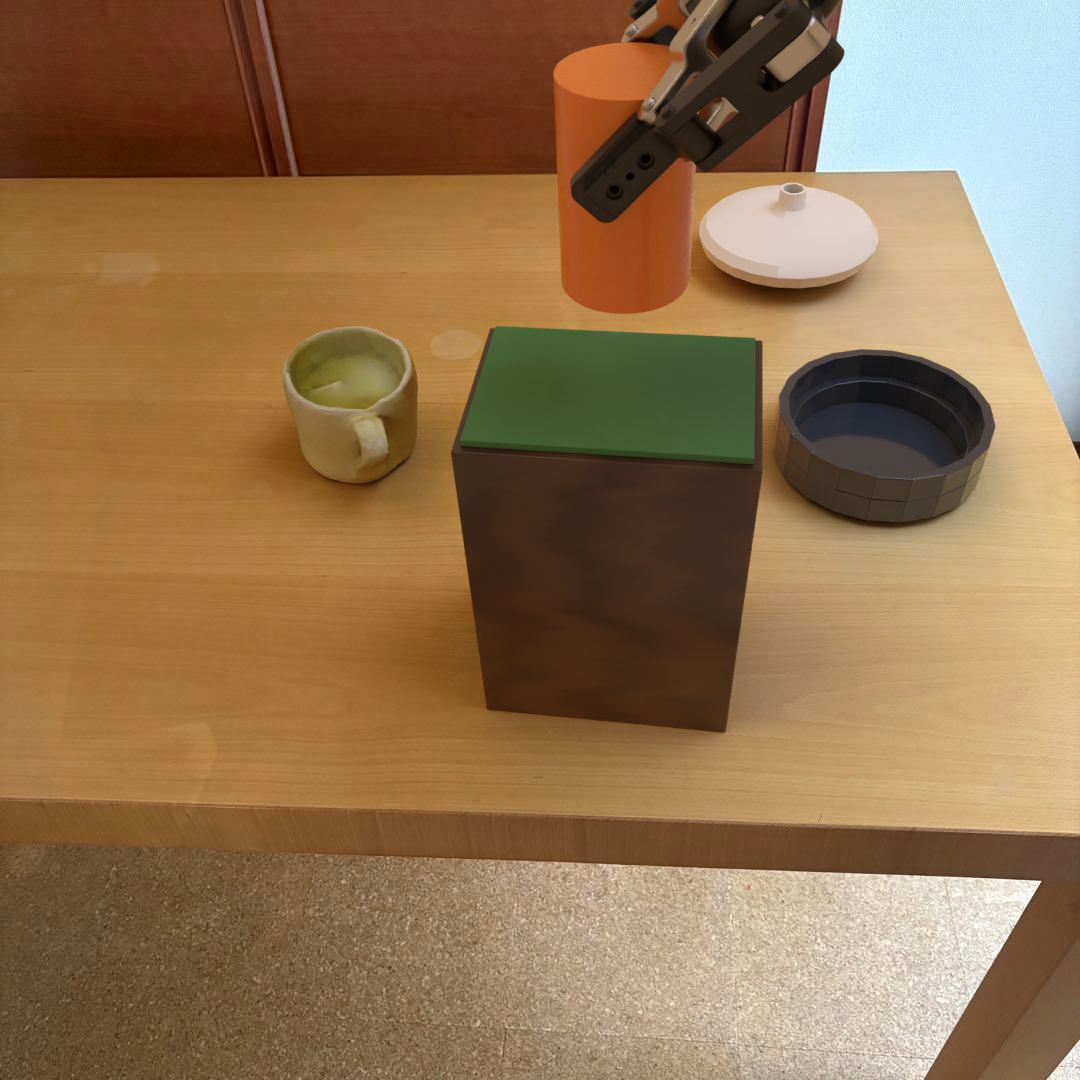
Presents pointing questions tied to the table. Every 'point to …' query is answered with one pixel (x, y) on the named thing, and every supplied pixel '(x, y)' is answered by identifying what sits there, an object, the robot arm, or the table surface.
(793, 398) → the pot
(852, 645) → the table surface
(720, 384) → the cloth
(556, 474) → the stand
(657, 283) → the orange can
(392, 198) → the table surface
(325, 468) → the mug
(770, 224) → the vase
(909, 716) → the table surface
